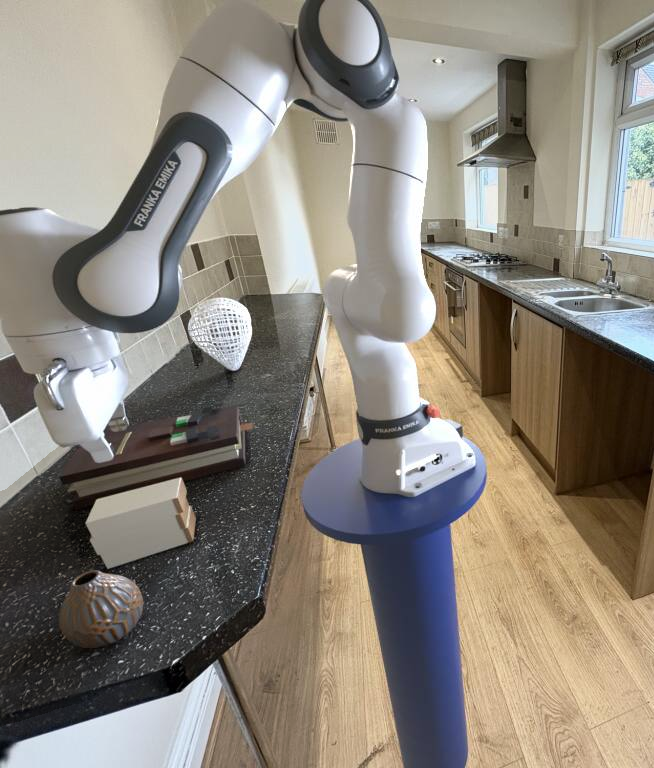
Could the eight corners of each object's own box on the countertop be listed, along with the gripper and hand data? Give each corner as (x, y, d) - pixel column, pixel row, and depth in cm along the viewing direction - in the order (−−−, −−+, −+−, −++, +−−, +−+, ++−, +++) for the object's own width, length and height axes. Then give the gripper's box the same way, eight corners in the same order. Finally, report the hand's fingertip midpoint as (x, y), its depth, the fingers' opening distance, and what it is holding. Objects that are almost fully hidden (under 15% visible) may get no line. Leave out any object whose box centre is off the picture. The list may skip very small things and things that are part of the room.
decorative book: (71, 430, 81) (248, 397, 95) (87, 463, 84) (256, 425, 98) (33, 481, 66) (249, 432, 80) (54, 518, 69) (259, 464, 83)
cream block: (187, 491, 66) (181, 476, 65) (183, 512, 61) (177, 497, 60) (103, 514, 61) (96, 499, 60) (93, 539, 56) (84, 523, 55)
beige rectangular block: (196, 518, 68) (185, 491, 66) (193, 541, 64) (182, 513, 61) (114, 543, 63) (100, 514, 61) (105, 570, 58) (89, 540, 56)
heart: (264, 379, 126) (245, 307, 117) (203, 390, 118) (178, 314, 109) (260, 354, 147) (244, 292, 139) (208, 362, 140) (188, 297, 131)
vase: (80, 626, 51) (48, 573, 47) (151, 596, 54) (127, 546, 51) (69, 671, 46) (33, 616, 42) (149, 635, 49) (122, 582, 46)
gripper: (79, 368, 45) (129, 472, 50) (118, 327, 61) (153, 409, 66) (-5, 381, 42) (58, 491, 47) (60, 334, 58) (101, 420, 63)
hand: (114, 443), depth 57 cm, fingers open, 8 cm apart
